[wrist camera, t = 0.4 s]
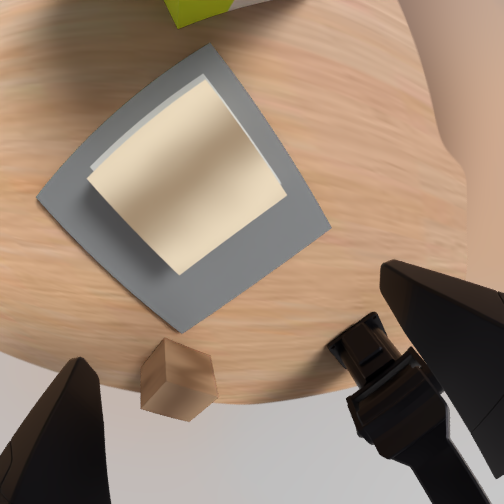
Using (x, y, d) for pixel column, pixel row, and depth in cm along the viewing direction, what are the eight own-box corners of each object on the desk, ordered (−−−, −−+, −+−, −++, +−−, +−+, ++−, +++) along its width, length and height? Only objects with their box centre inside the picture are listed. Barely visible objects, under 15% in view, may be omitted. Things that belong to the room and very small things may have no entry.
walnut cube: (210, 355, 27) (219, 396, 22) (184, 382, 28) (189, 421, 23) (164, 336, 24) (166, 381, 20) (141, 367, 25) (140, 408, 21)
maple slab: (271, 182, 19) (287, 195, 17) (178, 252, 20) (179, 275, 17) (201, 84, 15) (205, 79, 12) (99, 167, 16) (86, 178, 13)
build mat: (328, 224, 23) (331, 227, 22) (181, 329, 24) (182, 334, 24) (208, 44, 14) (210, 42, 14) (39, 194, 16) (35, 197, 15)
